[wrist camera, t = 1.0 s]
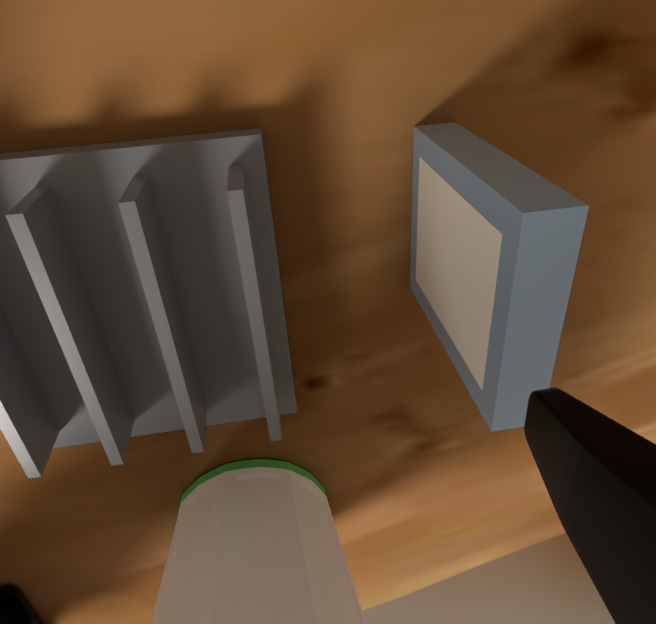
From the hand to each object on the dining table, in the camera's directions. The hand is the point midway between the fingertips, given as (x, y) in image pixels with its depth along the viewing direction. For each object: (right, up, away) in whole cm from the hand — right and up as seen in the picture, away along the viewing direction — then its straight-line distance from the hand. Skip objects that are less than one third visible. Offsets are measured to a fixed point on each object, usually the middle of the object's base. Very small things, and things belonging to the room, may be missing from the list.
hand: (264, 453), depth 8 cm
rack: (-7, +3, +13) cm, 15 cm away
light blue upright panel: (+5, +6, +13) cm, 15 cm away
